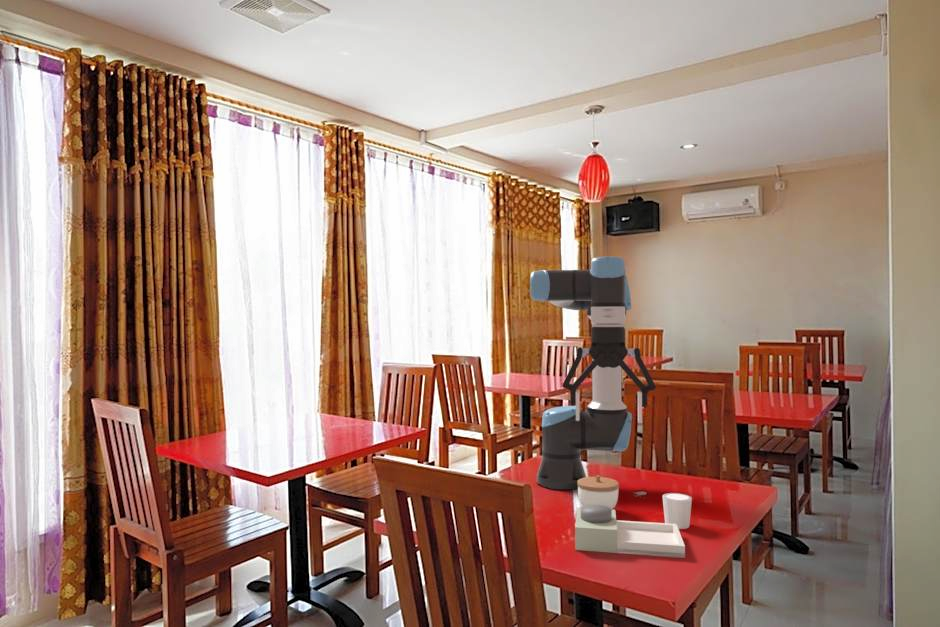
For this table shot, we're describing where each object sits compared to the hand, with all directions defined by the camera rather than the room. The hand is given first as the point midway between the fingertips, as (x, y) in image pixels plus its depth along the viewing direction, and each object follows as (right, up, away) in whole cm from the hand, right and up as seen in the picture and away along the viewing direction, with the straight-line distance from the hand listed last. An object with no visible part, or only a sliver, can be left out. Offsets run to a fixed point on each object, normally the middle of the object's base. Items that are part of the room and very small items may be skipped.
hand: (608, 420), depth 137 cm
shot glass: (+20, -28, +13) cm, 37 cm away
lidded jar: (+3, -28, +24) cm, 37 cm away
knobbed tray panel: (+5, -28, +2) cm, 28 cm away
